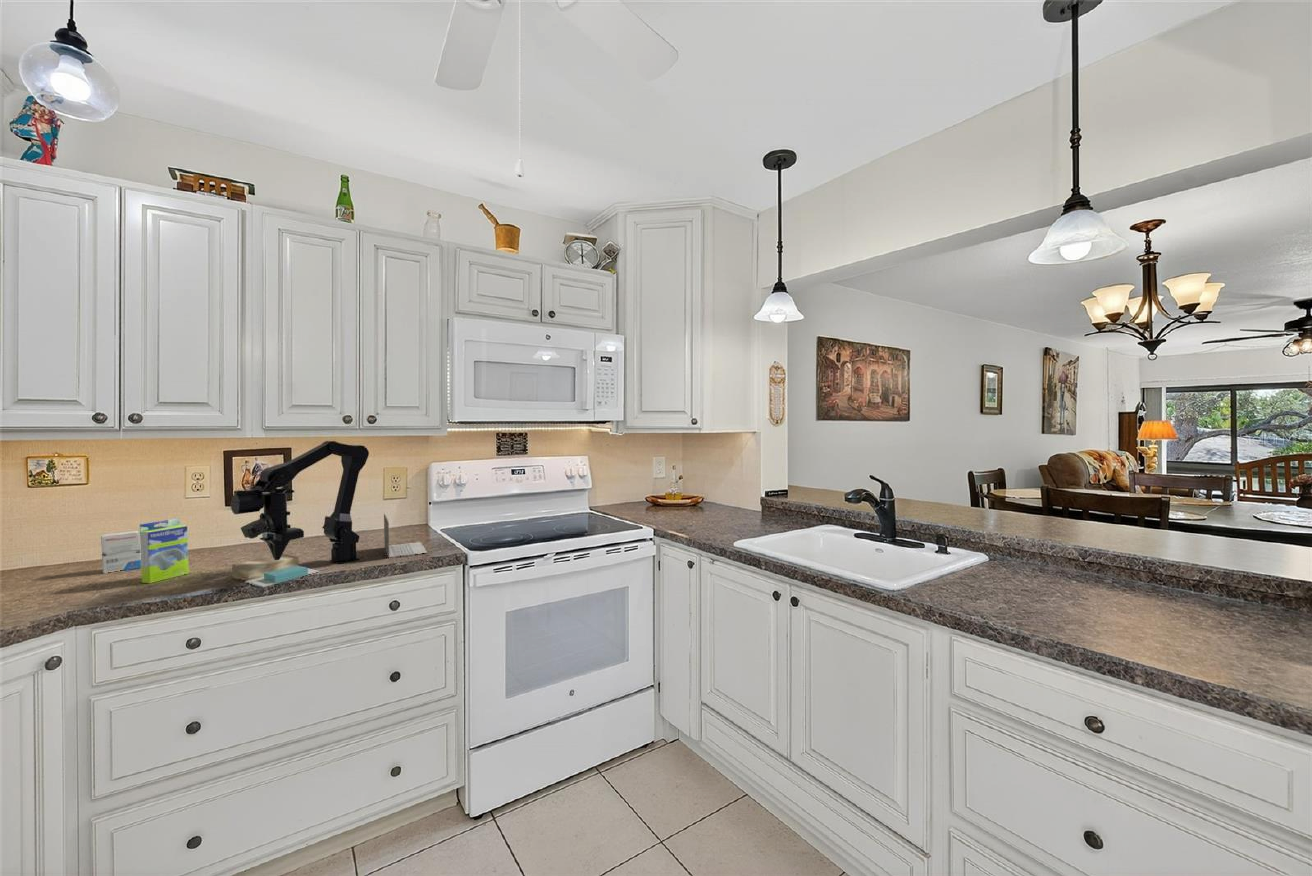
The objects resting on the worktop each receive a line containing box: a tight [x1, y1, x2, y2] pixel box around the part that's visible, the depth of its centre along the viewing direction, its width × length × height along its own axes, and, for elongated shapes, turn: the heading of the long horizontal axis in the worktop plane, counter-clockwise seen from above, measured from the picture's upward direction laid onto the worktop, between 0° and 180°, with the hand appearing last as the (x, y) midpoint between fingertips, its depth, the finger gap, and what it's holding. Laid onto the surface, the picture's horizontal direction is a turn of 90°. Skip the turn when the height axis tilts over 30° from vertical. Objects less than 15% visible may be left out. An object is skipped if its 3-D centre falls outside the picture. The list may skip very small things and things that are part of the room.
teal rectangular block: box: [264, 565, 309, 583], centre depth 157 cm, size 9×6×2 cm, turn 153°
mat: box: [244, 567, 320, 588], centre depth 158 cm, size 16×9×1 cm, turn 153°
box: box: [139, 518, 190, 584], centre depth 158 cm, size 10×4×17 cm, turn 163°
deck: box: [231, 553, 300, 581], centre depth 162 cm, size 14×9×4 cm, turn 153°
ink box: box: [100, 530, 142, 574], centre depth 167 cm, size 9×5×12 cm, turn 134°
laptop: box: [383, 513, 428, 559], centre depth 190 cm, size 18×12×13 cm
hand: (276, 559), depth 159 cm, fingers closed
